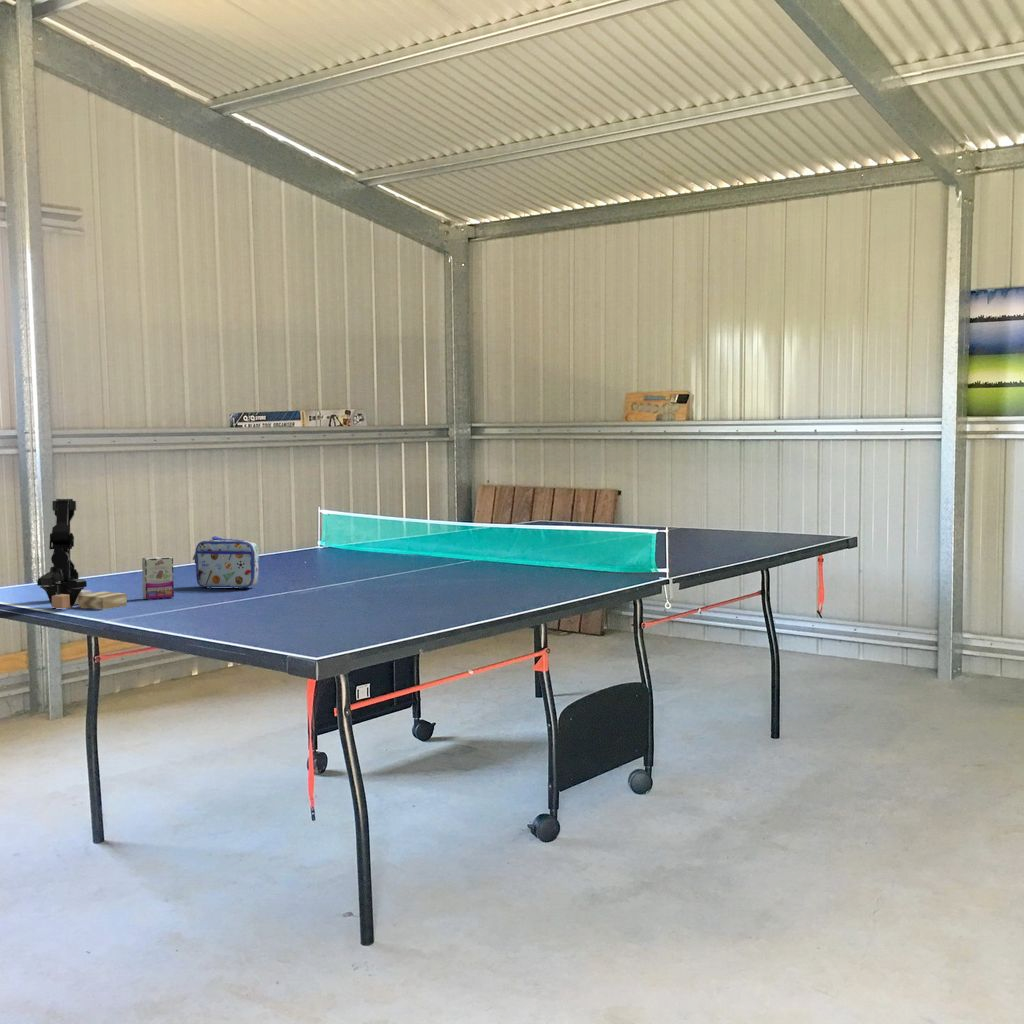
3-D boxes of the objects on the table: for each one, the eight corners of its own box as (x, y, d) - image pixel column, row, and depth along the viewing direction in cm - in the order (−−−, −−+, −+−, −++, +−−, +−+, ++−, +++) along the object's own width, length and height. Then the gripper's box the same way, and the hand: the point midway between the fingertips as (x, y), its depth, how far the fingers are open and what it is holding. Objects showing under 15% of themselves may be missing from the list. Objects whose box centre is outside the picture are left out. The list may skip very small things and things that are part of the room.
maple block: (78, 608, 401) (78, 595, 401) (102, 604, 412) (102, 591, 412) (103, 610, 396) (102, 597, 396) (126, 606, 407) (126, 593, 407)
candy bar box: (169, 596, 432) (169, 556, 431) (174, 598, 428) (173, 557, 427) (141, 598, 426) (141, 557, 425) (145, 600, 422) (145, 558, 421)
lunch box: (190, 588, 456) (189, 537, 454) (199, 585, 466) (199, 535, 465) (253, 590, 453) (252, 538, 452) (261, 587, 463) (261, 536, 462)
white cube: (71, 604, 409) (71, 591, 409) (81, 602, 414) (81, 589, 414) (82, 605, 407) (82, 592, 407) (91, 603, 412) (91, 590, 412)
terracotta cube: (51, 609, 397) (51, 595, 397) (62, 607, 402) (61, 594, 402) (62, 610, 396) (62, 596, 395) (72, 608, 400) (72, 594, 400)
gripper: (25, 564, 394) (25, 606, 395) (64, 567, 387) (65, 610, 388) (48, 561, 404) (49, 602, 405) (87, 564, 397) (87, 606, 398)
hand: (62, 605), depth 399 cm, fingers open, 9 cm apart
